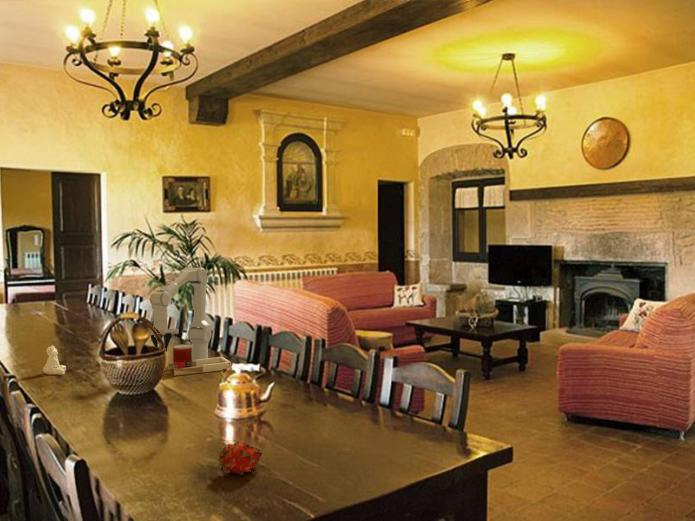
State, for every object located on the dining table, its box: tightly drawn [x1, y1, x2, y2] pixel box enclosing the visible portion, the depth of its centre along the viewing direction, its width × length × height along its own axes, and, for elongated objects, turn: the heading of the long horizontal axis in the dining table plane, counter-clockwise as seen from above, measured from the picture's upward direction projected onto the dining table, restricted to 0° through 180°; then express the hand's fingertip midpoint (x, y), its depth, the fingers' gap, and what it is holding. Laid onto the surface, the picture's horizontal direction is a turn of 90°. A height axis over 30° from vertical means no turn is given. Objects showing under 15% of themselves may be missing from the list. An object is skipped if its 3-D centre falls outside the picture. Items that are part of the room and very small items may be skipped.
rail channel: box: [167, 361, 204, 377], centre depth 260 cm, size 13×12×2 cm
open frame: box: [195, 356, 232, 373], centre depth 266 cm, size 13×12×3 cm
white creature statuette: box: [42, 345, 67, 376], centre depth 257 cm, size 10×9×12 cm
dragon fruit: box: [218, 441, 263, 476], centre depth 152 cm, size 8×8×12 cm
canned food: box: [172, 344, 192, 369], centre depth 260 cm, size 8×8×11 cm
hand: (161, 351), depth 255 cm, fingers open, 3 cm apart
